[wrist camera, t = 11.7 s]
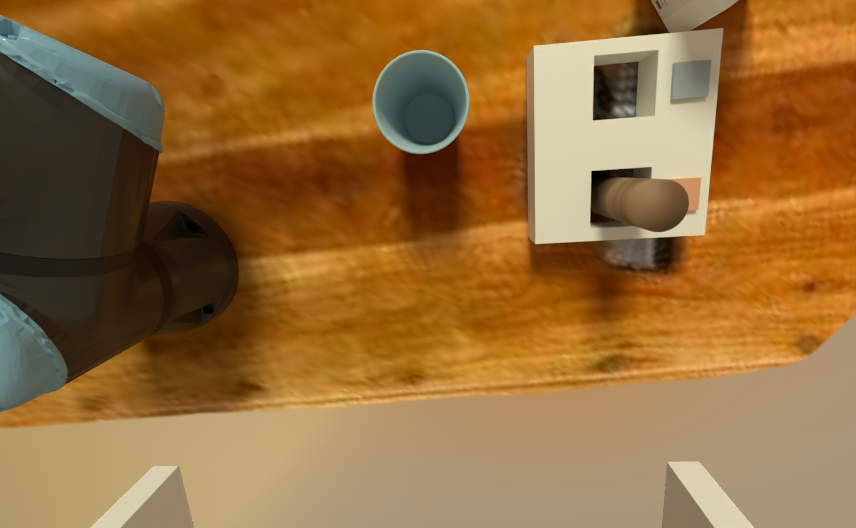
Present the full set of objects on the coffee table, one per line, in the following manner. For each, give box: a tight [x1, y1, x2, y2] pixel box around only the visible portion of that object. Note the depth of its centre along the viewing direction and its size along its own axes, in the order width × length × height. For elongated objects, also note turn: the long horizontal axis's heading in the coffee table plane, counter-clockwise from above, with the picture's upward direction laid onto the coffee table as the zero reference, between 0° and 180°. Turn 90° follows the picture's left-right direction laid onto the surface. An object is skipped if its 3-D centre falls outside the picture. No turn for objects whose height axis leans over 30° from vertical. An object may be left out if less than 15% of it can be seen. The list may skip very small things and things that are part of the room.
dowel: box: [590, 177, 689, 232], centre depth 36 cm, size 4×4×12 cm
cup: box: [373, 50, 469, 154], centre depth 36 cm, size 8×8×10 cm
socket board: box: [526, 28, 723, 244], centre depth 39 cm, size 16×18×4 cm
